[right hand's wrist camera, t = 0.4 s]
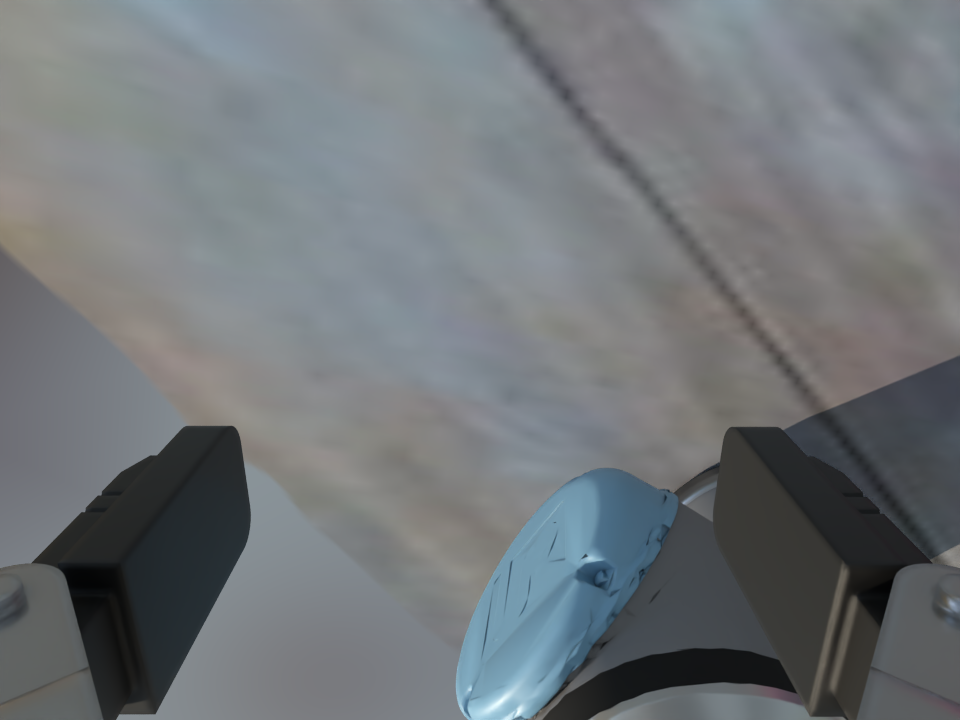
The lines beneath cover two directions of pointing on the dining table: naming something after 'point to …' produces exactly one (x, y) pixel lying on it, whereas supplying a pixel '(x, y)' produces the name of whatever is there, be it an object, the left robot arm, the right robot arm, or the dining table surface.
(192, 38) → the dining table surface
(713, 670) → the left robot arm
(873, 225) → the dining table surface
